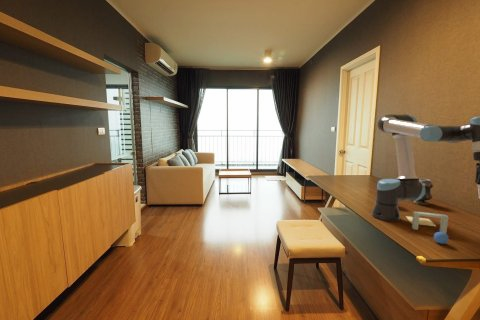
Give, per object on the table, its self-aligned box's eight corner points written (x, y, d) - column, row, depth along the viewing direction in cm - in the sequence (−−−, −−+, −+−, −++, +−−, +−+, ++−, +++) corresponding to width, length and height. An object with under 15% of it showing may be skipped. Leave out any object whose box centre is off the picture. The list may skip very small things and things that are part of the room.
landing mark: (411, 223, 140) (411, 223, 140) (405, 216, 152) (405, 216, 152) (436, 226, 136) (436, 226, 136) (428, 219, 147) (428, 218, 147)
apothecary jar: (428, 202, 182) (431, 178, 180) (433, 206, 171) (436, 181, 169) (409, 200, 187) (411, 177, 185) (412, 204, 176) (415, 180, 174)
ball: (435, 244, 115) (437, 233, 114) (431, 239, 120) (432, 229, 119) (450, 246, 113) (451, 235, 112) (445, 241, 118) (446, 230, 117)
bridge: (446, 233, 127) (448, 216, 126) (413, 229, 132) (415, 213, 131) (444, 231, 130) (446, 214, 129) (411, 227, 135) (413, 211, 134)
